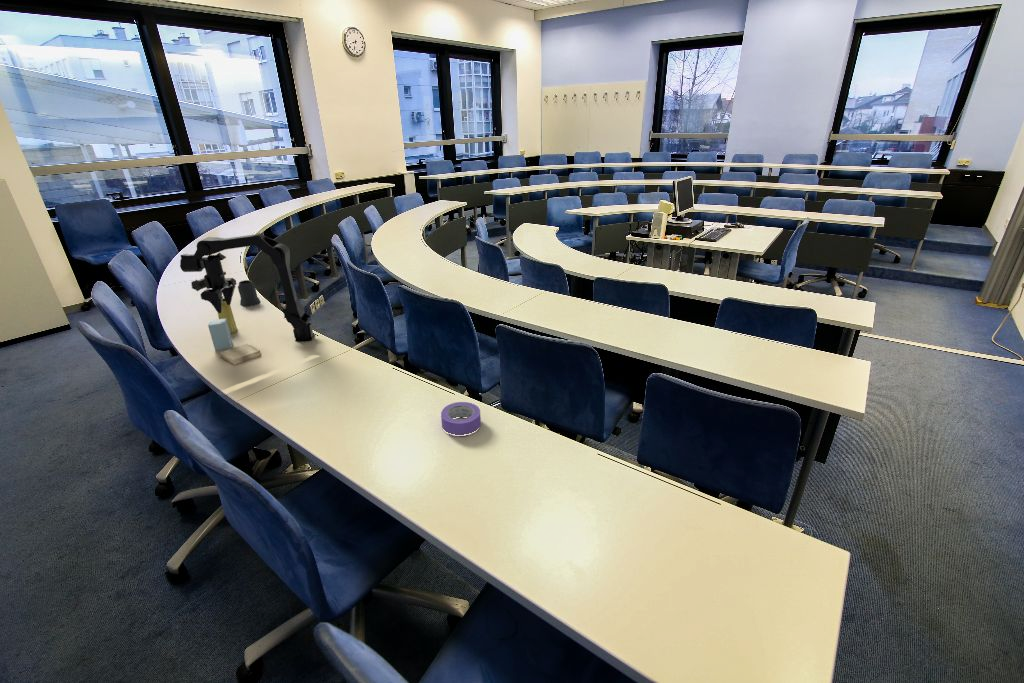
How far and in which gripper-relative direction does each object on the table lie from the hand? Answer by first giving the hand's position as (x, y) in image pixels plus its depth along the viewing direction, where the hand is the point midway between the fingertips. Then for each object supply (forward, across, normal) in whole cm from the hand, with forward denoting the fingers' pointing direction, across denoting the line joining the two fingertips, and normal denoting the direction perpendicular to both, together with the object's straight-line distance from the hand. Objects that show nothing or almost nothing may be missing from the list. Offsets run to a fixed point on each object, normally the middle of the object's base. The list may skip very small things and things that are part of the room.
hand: (224, 308), depth 187 cm
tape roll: (+15, +72, +90) cm, 117 cm away
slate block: (+15, +7, -1) cm, 16 cm away
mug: (+15, -49, -10) cm, 52 cm away
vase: (+15, -12, -6) cm, 20 cm away
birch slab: (+13, +17, +9) cm, 24 cm away
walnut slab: (+15, +17, +9) cm, 25 cm away
